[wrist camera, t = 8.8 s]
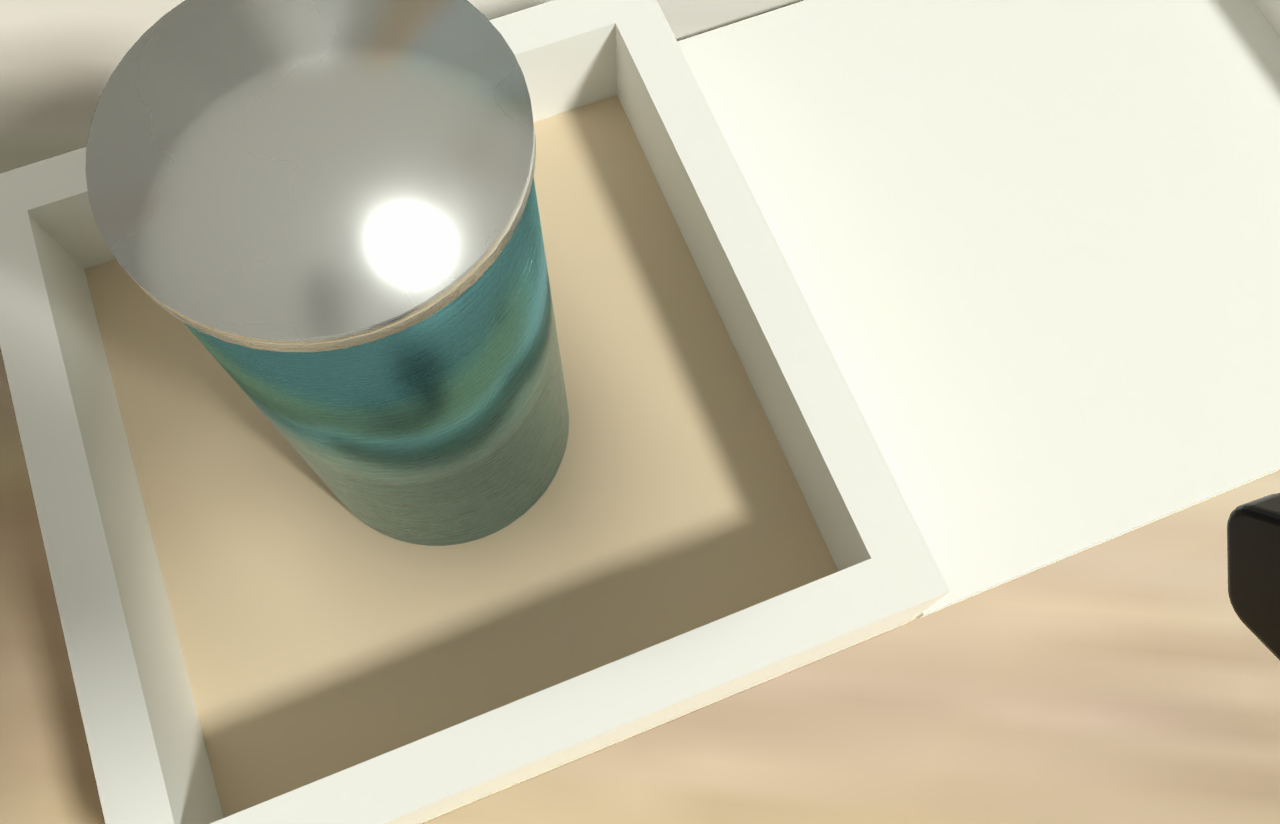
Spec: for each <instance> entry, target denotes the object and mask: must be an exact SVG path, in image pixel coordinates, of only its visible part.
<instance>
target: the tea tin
mask: <svg viewBox="0 0 1280 824" xmlns="http://www.w3.org/2000/svg"><path fill="white" fill-rule="evenodd" d="M535 161H536V137H535V129H534V121H533V113H532V106H531V99H530V95H529V92H528V88H527V85H526V81H525V78H524V74H523V72H522V70H521V68H520V66H519V64H518V61H517V59H516V57H515V55H514V53H513V51H512V50H511V48H510V47H509V45H508V44H507V42H506V41H505V39H504V38H503V36H502V35H501V33H500V32H499V31H498V30H497V29H496V28H495V27H494V25H493V24H492V23H491V22H490V21H489V20H488V19H487V18H486V16H485V15H484V14H482V13H481V12H480V11H479V10H478V9H476V8H475V7H474V6H473V5H472V4H471V3H469V2H468V1H467V0H185V1H184V2H182V3H181V4H179V5H178V6H177V7H175V8H174V9H172V10H171V11H170V12H168V13H167V14H165V15H164V16H163V17H162V18H161V19H160V20H158V21H157V22H156V23H155V24H154V25H153V26H152V27H151V28H150V29H148V30H147V31H146V32H145V33H144V34H143V35H142V36H141V37H140V39H139V40H138V41H137V42H136V43H135V44H134V45H133V46H132V48H131V49H130V50H129V51H128V52H127V53H126V55H125V56H124V57H123V59H122V60H121V62H120V63H119V65H118V66H117V68H116V69H115V71H114V72H113V74H112V75H111V77H110V79H109V81H108V83H107V85H106V87H105V89H104V91H103V93H102V95H101V96H100V98H99V101H98V104H97V107H96V110H95V113H94V116H93V119H92V121H91V125H90V131H89V136H88V141H87V146H86V168H85V174H86V182H87V190H88V198H89V201H90V205H91V208H92V212H93V215H94V219H95V222H96V224H97V226H98V228H99V230H100V232H101V235H102V237H103V239H104V241H105V243H106V245H107V246H108V248H109V249H110V251H111V252H112V254H113V255H114V256H115V258H116V259H117V261H118V262H119V264H120V265H121V266H122V268H123V269H124V270H125V271H126V272H127V273H128V274H129V275H130V276H131V278H132V279H133V280H134V281H135V282H136V283H137V284H138V285H139V286H140V287H141V288H142V289H143V290H144V291H145V292H146V293H147V295H148V296H149V297H150V298H151V299H152V300H153V301H154V302H156V303H157V304H158V305H159V306H161V307H162V308H163V309H165V310H166V311H167V312H168V313H170V314H171V315H172V316H174V317H175V318H177V319H178V320H180V321H182V322H183V323H184V324H185V325H186V326H187V327H188V329H189V330H190V331H191V332H192V333H193V334H194V335H195V337H196V338H197V339H198V340H199V341H200V342H201V343H202V344H203V346H204V347H205V348H206V349H207V350H208V351H209V352H210V354H211V355H212V356H213V357H214V358H215V359H216V360H217V362H218V363H219V364H220V365H221V366H222V367H223V368H224V369H225V371H226V372H227V373H228V374H229V375H230V376H231V377H232V379H233V380H234V381H235V382H236V383H237V384H238V385H239V387H240V388H241V389H242V390H243V391H244V392H245V393H246V394H247V396H248V397H249V398H250V399H251V400H252V401H253V402H254V404H255V405H256V406H257V407H258V408H259V409H260V410H261V412H262V413H263V414H264V415H265V416H266V417H267V418H268V419H269V421H270V422H271V423H272V424H273V425H274V426H275V427H276V429H277V430H278V431H279V432H280V433H281V434H282V435H283V436H284V438H285V439H286V440H287V441H288V442H289V443H290V444H291V446H292V447H293V448H294V449H295V450H296V451H297V452H298V454H299V455H300V456H301V457H302V458H303V459H304V460H305V461H306V463H307V464H308V465H309V466H310V467H311V468H312V469H313V471H314V472H315V473H316V474H317V475H318V476H319V477H320V479H321V480H322V481H323V482H324V483H325V484H326V485H327V486H328V488H329V489H330V490H331V491H332V492H333V493H334V494H335V496H336V497H337V498H338V499H339V500H340V501H341V502H342V504H343V505H344V506H345V507H346V508H347V509H348V510H349V511H350V512H351V513H352V514H353V515H354V516H355V517H357V518H358V519H359V520H360V521H362V522H363V523H364V524H365V525H367V526H369V527H370V528H372V529H374V530H376V531H377V532H379V533H381V534H383V535H386V536H388V537H391V538H393V539H396V540H399V541H403V542H407V543H411V544H418V545H426V546H447V545H455V544H463V543H466V542H470V541H474V540H478V539H481V538H483V537H486V536H488V535H491V534H493V533H496V532H497V531H499V530H501V529H503V528H505V527H506V526H508V525H510V524H511V523H513V522H514V521H515V520H517V519H518V518H520V517H521V516H522V515H524V514H525V513H526V512H527V511H528V510H529V509H530V508H531V507H532V506H533V505H534V504H535V503H536V502H537V501H538V500H539V499H540V497H541V496H542V495H543V494H544V492H545V491H546V490H547V488H548V487H549V485H550V484H551V482H552V480H553V479H554V477H555V475H556V473H557V471H558V469H559V467H560V464H561V462H562V459H563V456H564V452H565V449H566V445H567V439H568V432H569V411H568V403H567V396H566V389H565V383H564V376H563V369H562V363H561V356H560V349H559V343H558V336H557V329H556V323H555V316H554V309H553V303H552V296H551V289H550V283H549V276H548V269H547V263H546V256H545V249H544V243H543V236H542V229H541V223H540V216H539V209H538V203H537V196H536V189H535V182H534V171H535Z"/></svg>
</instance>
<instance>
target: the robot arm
mask: <svg viewBox="0 0 1280 824" xmlns="http://www.w3.org/2000/svg"><path fill="white" fill-rule="evenodd" d="M1227 557H1228V593H1229V597H1230V601H1231V604H1232V606H1233V608H1234V610H1235V612H1236V614H1237V615H1238V617H1239V618H1240V620H1241V621H1242V622H1243V623H1244V624H1245V625H1246V626H1247V627H1248V628H1249V629H1250V630H1251V631H1252V632H1253V633H1254V634H1255V635H1256V636H1257V637H1258V639H1259V640H1260V641H1261V642H1262V643H1263V644H1264V645H1265V646H1266V647H1267V648H1268V649H1269V650H1270V651H1271V652H1272V653H1273V654H1274V655H1275V656H1276V657H1277V658H1278V659H1279V660H1280V493H1277V494H1271V495H1268V496H1265V497H1263V498H1260V499H1257V500H1254V501H1251V502H1249V503H1246V504H1243V505H1240V506H1238V507H1237V508H1236V509H1235V510H1233V511H1232V513H1231V514H1230V517H1229V519H1228V523H1227Z"/></svg>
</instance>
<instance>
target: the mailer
mask: <svg viewBox="0 0 1280 824" xmlns="http://www.w3.org/2000/svg"><path fill="white" fill-rule="evenodd" d="M489 21H490V22H491V23H492V24H493V25H494V27H495V28H496V29H497V30H498V31H499V32H500V33H501V35H502V36H503V38H504V39H505V41H506V42H507V44H508V45H509V47H510V48H511V50H512V51H513V53H514V55H515V57H516V59H517V61H518V64H519V66H520V68H521V70H522V72H523V74H524V78H525V81H526V85H527V88H528V92H529V95H530V99H531V106H532V113H533V121H534V129H535V137H536V161H535V171H534V182H535V189H536V196H537V203H538V209H539V216H540V223H541V229H542V236H543V243H544V249H545V256H546V263H547V269H548V276H549V283H550V289H551V296H552V303H553V309H554V316H555V323H556V329H557V336H558V343H559V349H560V356H561V363H562V369H563V376H564V383H565V389H566V396H567V403H568V411H569V432H568V439H567V445H566V449H565V452H564V456H563V459H562V462H561V464H560V467H559V469H558V471H557V473H556V475H555V477H554V479H553V480H552V482H551V484H550V485H549V487H548V488H547V490H546V491H545V492H544V494H543V495H542V496H541V497H540V499H539V500H538V501H537V502H536V503H535V504H534V505H533V506H532V507H531V508H530V509H529V510H528V511H527V512H526V513H525V514H524V515H522V516H521V517H520V518H518V519H517V520H515V521H514V522H513V523H511V524H510V525H508V526H506V527H505V528H503V529H501V530H499V531H497V532H496V533H493V534H491V535H488V536H486V537H483V538H481V539H478V540H474V541H470V542H466V543H463V544H455V545H447V546H426V545H418V544H411V543H407V542H403V541H399V540H396V539H393V538H391V537H388V536H386V535H383V534H381V533H379V532H377V531H376V530H374V529H372V528H370V527H369V526H367V525H365V524H364V523H363V522H362V521H360V520H359V519H358V518H357V517H355V516H354V515H353V514H352V513H351V512H350V511H349V510H348V509H347V508H346V507H345V506H344V505H343V504H342V502H341V501H340V500H339V499H338V498H337V497H336V496H335V494H334V493H333V492H332V491H331V490H330V489H329V488H328V486H327V485H326V484H325V483H324V482H323V481H322V480H321V479H320V477H319V476H318V475H317V474H316V473H315V472H314V471H313V469H312V468H311V467H310V466H309V465H308V464H307V463H306V461H305V460H304V459H303V458H302V457H301V456H300V455H299V454H298V452H297V451H296V450H295V449H294V448H293V447H292V446H291V444H290V443H289V442H288V441H287V440H286V439H285V438H284V436H283V435H282V434H281V433H280V432H279V431H278V430H277V429H276V427H275V426H274V425H273V424H272V423H271V422H270V421H269V419H268V418H267V417H266V416H265V415H264V414H263V413H262V412H261V410H260V409H259V408H258V407H257V406H256V405H255V404H254V402H253V401H252V400H251V399H250V398H249V397H248V396H247V394H246V393H245V392H244V391H243V390H242V389H241V388H240V387H239V385H238V384H237V383H236V382H235V381H234V380H233V379H232V377H231V376H230V375H229V374H228V373H227V372H226V371H225V369H224V368H223V367H222V366H221V365H220V364H219V363H218V362H217V360H216V359H215V358H214V357H213V356H212V355H211V354H210V352H209V351H208V350H207V349H206V348H205V347H204V346H203V344H202V343H201V342H200V341H199V340H198V339H197V338H196V337H195V335H194V334H193V333H192V332H191V331H190V330H189V329H188V327H187V326H186V325H185V324H184V323H183V322H182V321H180V320H178V319H177V318H175V317H174V316H172V315H171V314H170V313H168V312H167V311H166V310H165V309H163V308H162V307H161V306H159V305H158V304H157V303H156V302H154V301H153V300H152V299H151V298H150V297H149V296H148V295H147V293H146V292H145V291H144V290H143V289H142V288H141V287H140V286H139V285H138V284H137V283H136V282H135V281H134V280H133V279H132V278H131V276H130V275H129V274H128V273H127V272H126V271H125V270H124V269H123V268H122V266H121V265H120V264H119V262H118V261H117V259H116V258H115V256H114V255H113V254H112V252H111V251H110V249H109V248H108V246H107V245H106V243H105V241H104V239H103V237H102V235H101V232H100V230H99V228H98V226H97V224H96V222H95V219H94V215H93V212H92V208H91V205H90V201H89V198H88V190H87V182H86V174H85V168H86V147H83V148H80V149H77V150H74V151H70V152H67V153H64V154H61V155H58V156H54V157H51V158H48V159H45V160H42V161H38V162H35V163H32V164H29V165H26V166H22V167H19V168H16V169H13V170H10V171H7V172H3V173H0V347H1V352H2V356H3V361H4V365H5V370H6V374H7V379H8V384H9V388H10V393H11V397H12V402H13V406H14V411H15V415H16V420H17V424H18V429H19V434H20V438H21V443H22V447H23V452H24V456H25V461H26V465H27V470H28V474H29V479H30V484H31V488H32V493H33V497H34V502H35V506H36V511H37V515H38V520H39V524H40V529H41V534H42V538H43V543H44V547H45V552H46V556H47V561H48V565H49V570H50V574H51V579H52V584H53V588H54V593H55V597H56V602H57V606H58V611H59V615H60V620H61V624H62V629H63V633H64V638H65V643H66V647H67V652H68V656H69V661H70V665H71V670H72V674H73V679H74V683H75V688H76V693H77V697H78V702H79V706H80V711H81V715H82V720H83V724H84V729H85V733H86V738H87V743H88V747H89V752H90V756H91V761H92V765H93V770H94V774H95V779H96V783H97V788H98V793H99V797H100V802H101V806H102V811H103V815H104V820H105V824H421V823H424V822H426V821H429V820H431V819H434V818H436V817H438V816H441V815H443V814H446V813H448V812H451V811H453V810H455V809H458V808H460V807H463V806H465V805H468V804H470V803H472V802H475V801H477V800H480V799H482V798H485V797H487V796H489V795H492V794H494V793H497V792H499V791H502V790H504V789H506V788H509V787H511V786H514V785H516V784H519V783H521V782H523V781H526V780H528V779H531V778H533V777H536V776H538V775H540V774H543V773H545V772H548V771H550V770H553V769H555V768H557V767H560V766H562V765H565V764H567V763H570V762H572V761H574V760H577V759H579V758H582V757H584V756H586V755H589V754H591V753H594V752H596V751H599V750H601V749H603V748H606V747H608V746H611V745H613V744H616V743H618V742H620V741H623V740H625V739H628V738H630V737H633V736H635V735H637V734H640V733H642V732H645V731H647V730H650V729H652V728H654V727H657V726H659V725H662V724H664V723H667V722H669V721H671V720H674V719H676V718H679V717H681V716H684V715H686V714H688V713H691V712H693V711H696V710H698V709H701V708H703V707H705V706H708V705H710V704H713V703H715V702H718V701H720V700H722V699H725V698H727V697H730V696H732V695H735V694H737V693H739V692H742V691H744V690H747V689H749V688H752V687H754V686H756V685H759V684H761V683H764V682H766V681H769V680H771V679H773V678H776V677H778V676H781V675H783V674H786V673H788V672H790V671H793V670H795V669H798V668H800V667H803V666H805V665H807V664H810V663H812V662H815V661H817V660H820V659H822V658H824V657H827V656H829V655H832V654H834V653H837V652H839V651H841V650H844V649H846V648H849V647H851V646H854V645H856V644H858V643H861V642H863V641H866V640H868V639H871V638H873V637H875V636H878V635H880V634H883V633H885V632H888V631H890V630H892V629H895V628H897V627H900V626H902V625H905V624H907V623H909V622H911V621H912V620H913V619H915V618H916V617H917V616H918V618H922V617H924V616H926V615H929V614H931V613H934V612H936V611H939V610H941V609H943V608H946V607H948V606H951V605H953V604H955V603H958V602H960V601H963V600H965V599H968V598H970V597H972V596H975V595H977V594H980V593H982V592H985V591H987V590H989V589H992V588H994V587H997V586H999V585H1002V584H1004V583H1006V582H1009V581H1011V580H1014V579H1016V578H1019V577H1021V576H1023V575H1026V574H1028V573H1031V572H1033V571H1036V570H1038V569H1040V568H1043V567H1045V566H1048V565H1050V564H1053V563H1055V562H1057V561H1060V560H1062V559H1065V558H1067V557H1070V556H1072V555H1074V554H1077V553H1079V552H1082V551H1084V550H1087V549H1089V548H1091V547H1094V546H1096V545H1099V544H1101V543H1104V542H1106V541H1108V540H1111V539H1113V538H1116V537H1118V536H1121V535H1123V534H1125V533H1128V532H1130V531H1133V530H1135V529H1138V528H1140V527H1142V526H1145V525H1147V524H1150V523H1152V522H1155V521H1157V520H1159V519H1162V518H1164V517H1167V516H1169V515H1172V514H1174V513H1176V512H1179V511H1181V510H1184V509H1186V508H1189V507H1191V506H1193V505H1196V504H1198V503H1201V502H1203V501H1206V500H1208V499H1210V498H1213V497H1215V496H1218V495H1220V494H1223V493H1225V492H1227V491H1230V490H1232V489H1235V488H1237V487H1240V486H1242V485H1244V484H1247V483H1249V482H1252V481H1254V480H1257V479H1259V478H1261V477H1264V476H1266V475H1269V474H1271V473H1274V472H1276V471H1278V470H1280V0H804V1H801V2H798V3H795V4H792V5H789V6H785V7H782V8H779V9H776V10H773V11H770V12H767V13H764V14H761V15H758V16H754V17H751V18H748V19H745V20H742V21H739V22H736V23H733V24H730V25H727V26H724V27H720V28H717V29H714V30H711V31H708V32H705V33H702V34H699V35H696V36H693V37H690V38H686V39H683V40H680V41H677V40H676V38H675V36H674V34H673V32H672V30H671V28H670V26H669V24H668V22H667V20H666V18H665V16H664V14H663V12H662V10H661V8H660V6H659V4H658V2H657V0H553V1H550V2H546V3H543V4H540V5H537V6H534V7H530V8H527V9H524V10H521V11H518V12H514V13H511V14H508V15H505V16H502V17H498V18H495V19H492V20H489Z"/></svg>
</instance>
